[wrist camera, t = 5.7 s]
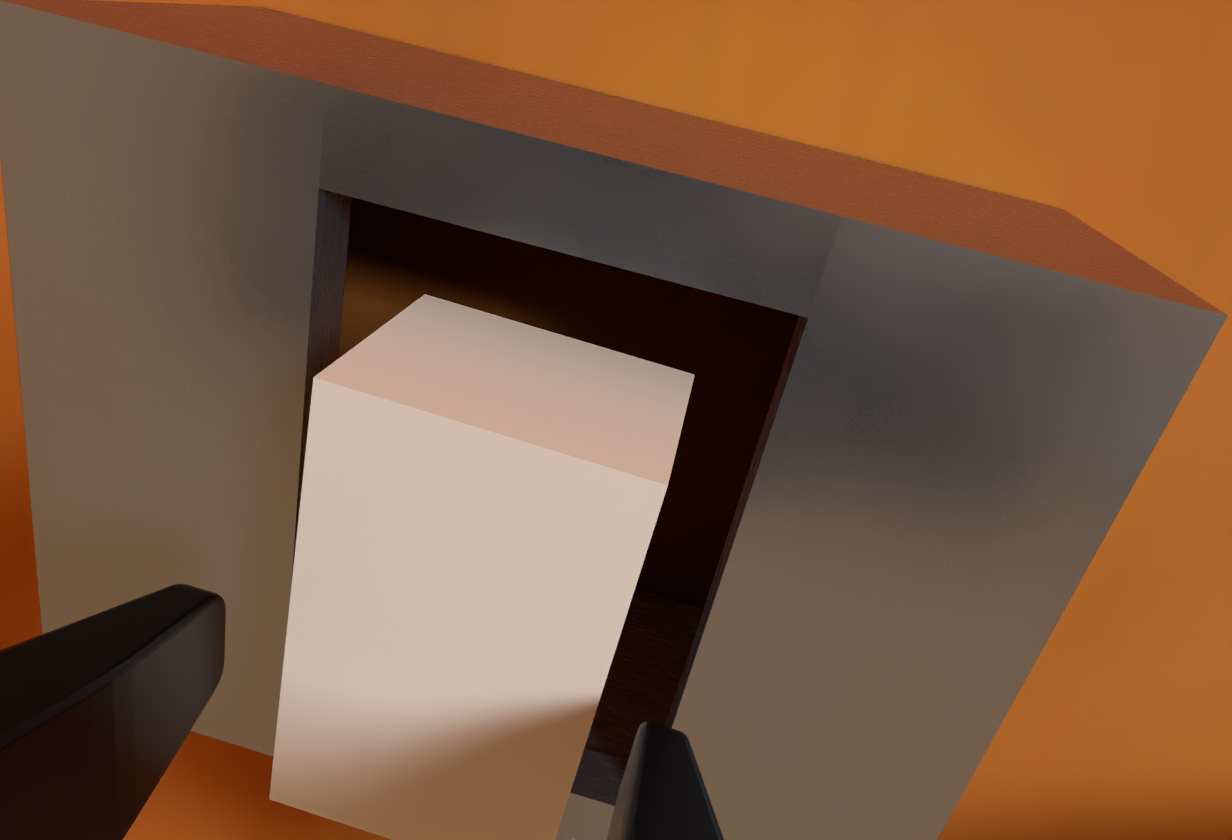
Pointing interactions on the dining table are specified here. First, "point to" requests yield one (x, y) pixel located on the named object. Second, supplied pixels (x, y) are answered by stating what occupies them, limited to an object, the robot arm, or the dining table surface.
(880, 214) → the box
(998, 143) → the dining table surface
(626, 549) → the white rectangular block
